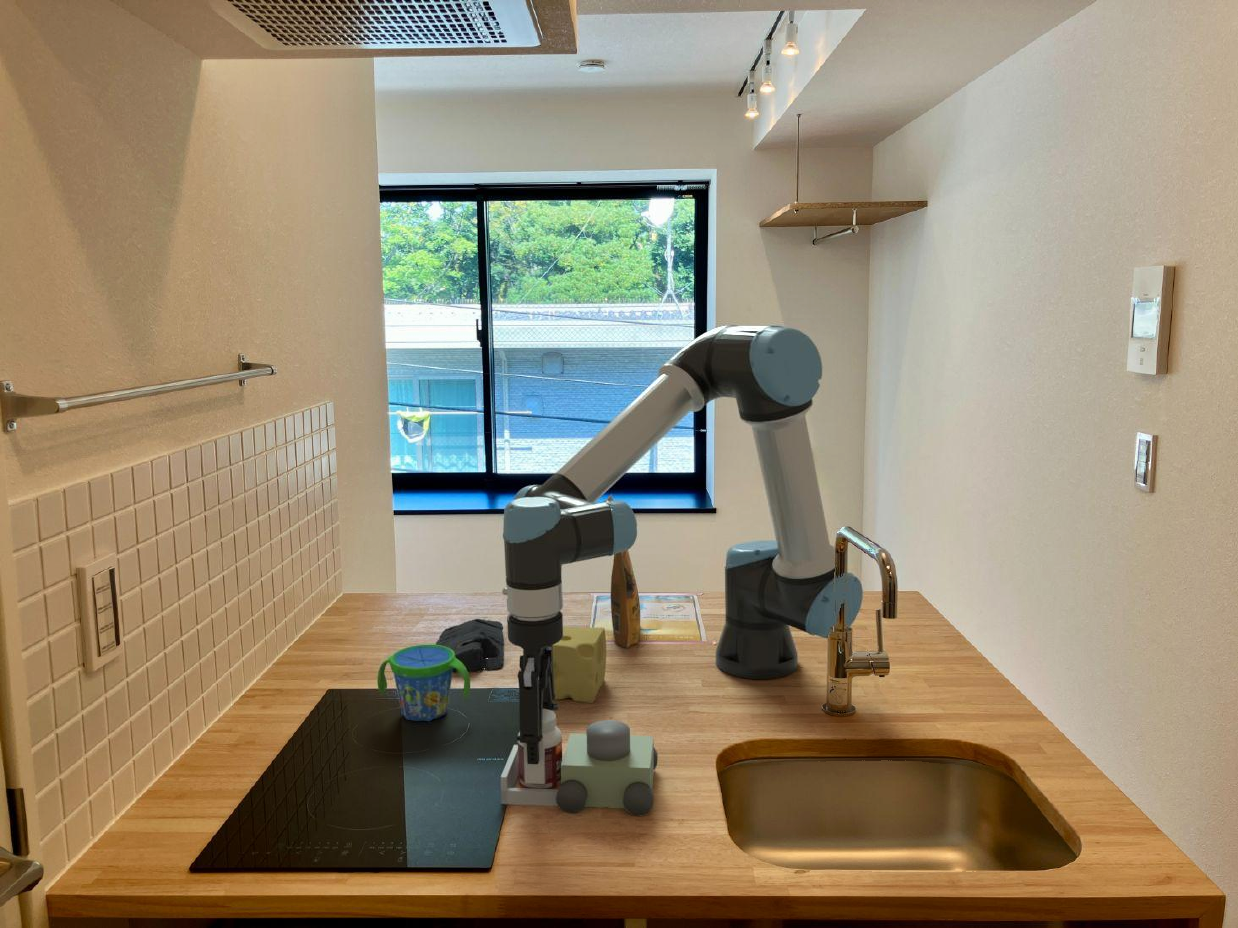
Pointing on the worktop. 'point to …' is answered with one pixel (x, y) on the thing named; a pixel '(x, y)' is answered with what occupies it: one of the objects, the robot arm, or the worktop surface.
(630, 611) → the pancake mix bag
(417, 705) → the snack cup
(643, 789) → the toy lawn mower
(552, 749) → the pill bottle
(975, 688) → the worktop surface
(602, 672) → the cheese
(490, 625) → the dark slate chunk
